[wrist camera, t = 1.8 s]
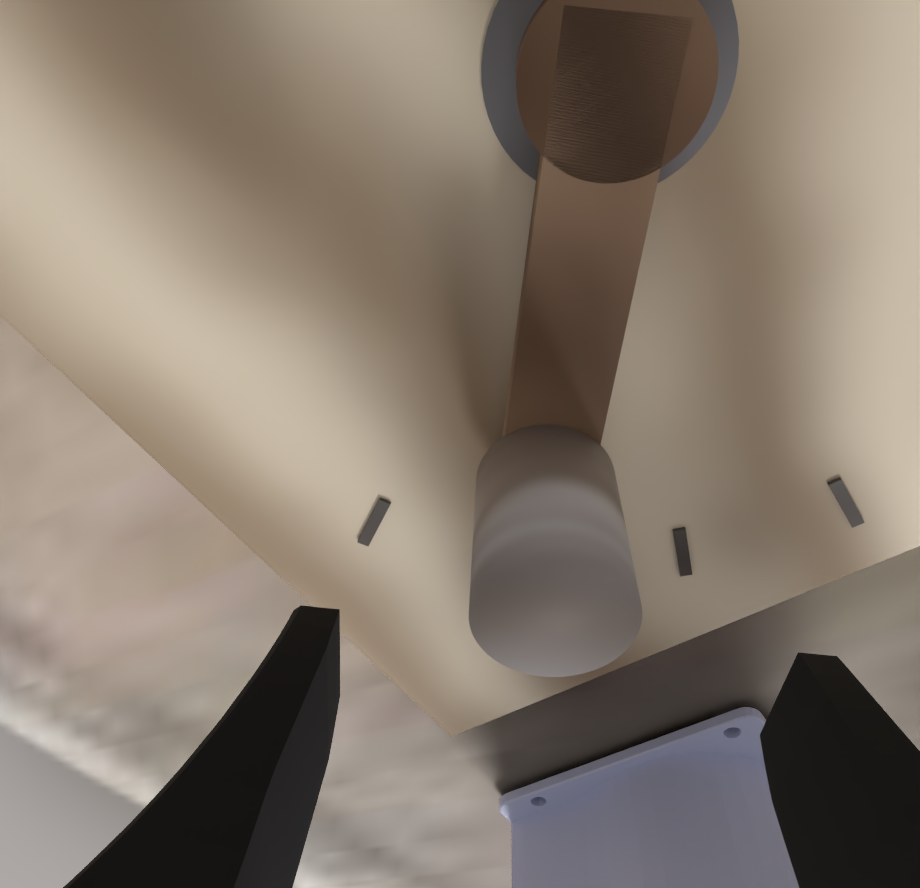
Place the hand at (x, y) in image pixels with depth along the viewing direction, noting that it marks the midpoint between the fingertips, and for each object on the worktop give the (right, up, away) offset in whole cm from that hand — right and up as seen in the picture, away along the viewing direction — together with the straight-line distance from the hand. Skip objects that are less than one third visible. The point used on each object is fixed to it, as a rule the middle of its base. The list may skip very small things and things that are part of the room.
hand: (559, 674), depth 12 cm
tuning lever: (+1, +5, +4) cm, 7 cm away
